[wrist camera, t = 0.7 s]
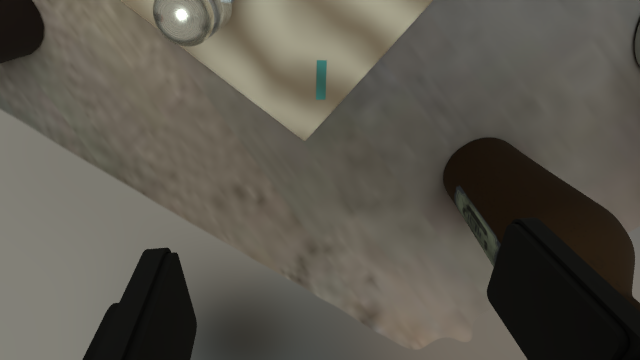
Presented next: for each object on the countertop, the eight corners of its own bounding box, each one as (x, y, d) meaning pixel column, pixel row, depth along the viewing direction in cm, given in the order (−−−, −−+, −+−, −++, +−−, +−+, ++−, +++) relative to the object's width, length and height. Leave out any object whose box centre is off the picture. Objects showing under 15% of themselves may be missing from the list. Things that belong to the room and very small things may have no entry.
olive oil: (506, 115, 42) (741, 268, 20) (531, 180, 46) (740, 359, 25) (424, 161, 44) (554, 343, 22) (455, 218, 49) (587, 413, 27)
